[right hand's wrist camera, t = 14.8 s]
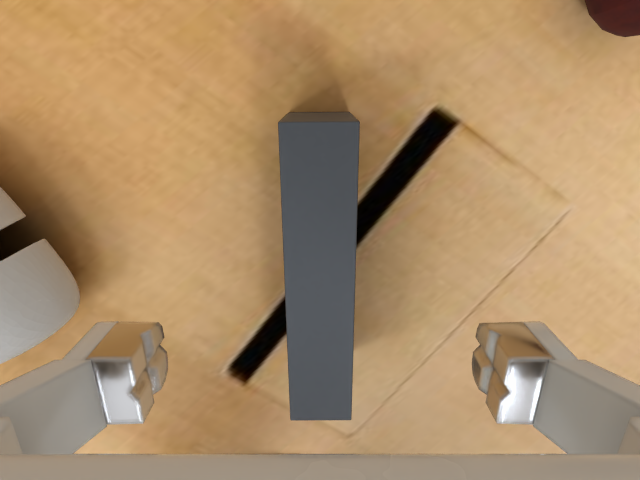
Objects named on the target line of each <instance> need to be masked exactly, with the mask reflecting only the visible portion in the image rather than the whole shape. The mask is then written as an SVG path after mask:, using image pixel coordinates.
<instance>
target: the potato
mask: <svg viewBox="0 0 640 480" xmlns="http://www.w3.org/2000/svg"><path fill="white" fill-rule="evenodd" d="M585 2H586V5H587V9H588V12H589V15H590V16H591V17H592V18H593V19H594V21H595V22H596V23H597V24H598V25H599V26H600V28H601V29H602V30H605V31H607V32H609V33H612V34H614V35H617V36H622V37H628V36H636V35H640V0H585Z"/></svg>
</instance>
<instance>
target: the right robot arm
mask: <svg viewBox="0 0 640 480" xmlns="http://www.w3.org/2000/svg"><path fill="white" fill-rule="evenodd" d="M163 338H164V333H163V328H162V325H161V324H160V323H159V322H118V321H114V322H98V323H96V324H95V325H94V326H93V327H92V328H91V329H90V330H89V331H88V332H87V333H86V335H85V336H84V337H83V338H82V339H81V340H80V341H79V342H78V343H77V344H76V345H75V346H74V347H73V348H72V349H71V350H70V351H69V353H68V354H67V355H66V356H65V357H64V358H63V359H62V360H54V361H52V362H49V363H47V364H45V365H43V366H41V367H39V368H37V369H34V370H32V371H30V372H28V373H26V374H24V375H22V376H19V377H17V378H15V379H13V380H11V381H9V382H7V383H5V384H2V385H0V480H640V385H637V384H635V383H633V382H631V381H629V380H627V379H625V378H623V377H620V376H618V375H616V374H614V373H612V372H610V371H608V370H605V369H603V368H601V367H599V366H597V365H595V364H593V363H591V362H588V361H586V360H578V359H577V358H576V357H575V356H574V355H573V354H572V353H571V351H570V350H569V349H568V348H567V347H566V346H565V345H564V344H563V343H562V342H561V341H560V340H559V339H558V338H557V337H556V336H555V334H554V333H553V332H552V331H551V330H550V329H549V328H548V327H547V326H546V325H545V324H544V323H542V322H540V321H533V322H505V323H480V324H479V326H478V328H477V333H476V338H477V340H478V342H479V343H480V345H479V347H478V348H477V349H476V350H475V351H474V352H473V358H472V370H473V376H474V379H475V382H476V384H477V386H478V389H479V390H481V391H482V392H484V393H485V394H487V398H486V404H487V406H488V408H489V410H490V412H491V413H492V415H493V417H494V419H495V421H496V423H500V424H533V426H534V427H535V428H536V429H537V430H539V431H540V432H541V433H542V434H544V435H545V436H546V437H547V438H549V439H550V440H551V441H552V442H553V443H555V444H556V445H557V446H558V447H560V448H561V449H562V450H563V451H565V452H566V453H567V454H73V453H74V452H76V451H77V450H78V449H79V448H80V447H82V446H83V445H84V444H85V443H87V442H88V441H89V440H90V439H92V438H93V437H94V436H95V435H97V434H98V433H99V432H100V431H102V430H103V429H104V428H105V427H107V425H106V424H139V423H144V421H145V419H146V417H147V415H148V413H149V412H150V410H151V408H152V406H153V404H154V398H153V394H155V393H156V392H158V391H159V390H161V389H162V386H163V384H164V382H165V380H166V375H167V371H168V357H167V352H166V351H165V350H164V349H163V348H162V347H161V345H160V343H161V342H162V340H163Z"/></svg>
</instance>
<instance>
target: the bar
mask: <svg viewBox="0 0 640 480" xmlns="http://www.w3.org/2000/svg"><path fill="white" fill-rule="evenodd" d="M359 128H360V122H359V121H358V120H357V119H356V118H355V117H354V116H353V115H352V114H351V113H350V112H289V113H288V114H287V115H285V116H284V117H283V118H282V119H281V120H280V121H279V122H278V131H279V155H280V180H281V204H282V228H283V252H284V276H285V301H286V325H287V349H288V373H289V398H290V419H291V420H351V412H352V376H353V341H354V305H355V270H356V234H357V199H358V163H359Z"/></svg>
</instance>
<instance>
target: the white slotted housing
mask: <svg viewBox="0 0 640 480" xmlns="http://www.w3.org/2000/svg"><path fill="white" fill-rule="evenodd" d="M24 217H26V215H25V214H24V213H23V212H22V210H21V209H20V208H19V207H18V206H17V205H16V203H15V202H14V201H13V200H12V199H11V198H10V197H9V196H8V194H7V193H6V192H5V191H4V190H3V189H2V188H1V187H0V230H2V229H4V228H6V227H8V226H9V225H11V224H13V223H15V222H17V221H19V220H20V219H22V218H24ZM79 303H80V292H79V288H78V285H77V283H76V281H75V279H74V277H73V275H72V273H71V272H70V270H69V269H68V267H67V266H66V265H65V263H64V262H63V260H62V259H61V258H60V256H59V255H58V254H57V253H56V251H55V250H54V249H53V248H52V246H51V245H50V244H49V243H48V241H47V240H46V239H42V240H39V241H37V242H35V243H33V244H31V245H29V246H28V247H26V248H24V249H22V250H20V251H18V252H17V253H15V254H13V255H11V256H9V257H7V258H6V259H4V260H2V261H0V364H1V363H3V362H6V361H8V360H10V359H12V358H14V357H16V356H18V355H20V354H22V353H24V352H26V351H27V350H29V349H31V348H33V347H34V346H36V345H38V344H39V343H41V342H42V341H44V340H45V339H47V338H48V337H50V336H51V335H52V334H54V333H55V332H56V331H58V330H59V329H60V328H61V327H63V326H64V325H65V324H66V323H67V322H68V321H69V320H70V319H71V318H72V317H73V315H74V314H75V312H76V311H77V309H78V306H79Z"/></svg>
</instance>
